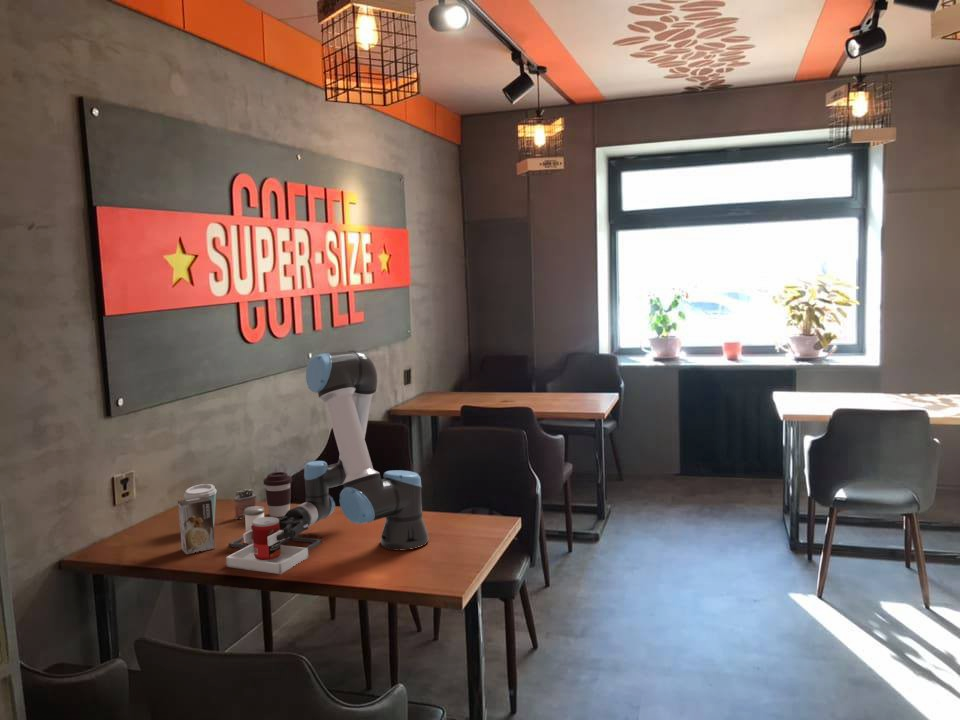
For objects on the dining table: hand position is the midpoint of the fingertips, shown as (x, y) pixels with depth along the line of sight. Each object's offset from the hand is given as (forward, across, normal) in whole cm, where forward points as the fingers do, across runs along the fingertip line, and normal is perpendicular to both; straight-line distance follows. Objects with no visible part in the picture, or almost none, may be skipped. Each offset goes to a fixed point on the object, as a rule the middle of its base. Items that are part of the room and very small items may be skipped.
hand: (256, 539), depth 235 cm
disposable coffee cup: (-24, +41, -9) cm, 48 cm away
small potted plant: (-41, +36, -9) cm, 55 cm away
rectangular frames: (-19, +8, -9) cm, 22 cm away
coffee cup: (-47, +26, -9) cm, 54 cm away
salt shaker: (-19, +15, -8) cm, 25 cm away
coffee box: (-8, +29, -9) cm, 31 cm away
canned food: (-5, 0, -7) cm, 8 cm away
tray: (-5, 0, -8) cm, 10 cm away
